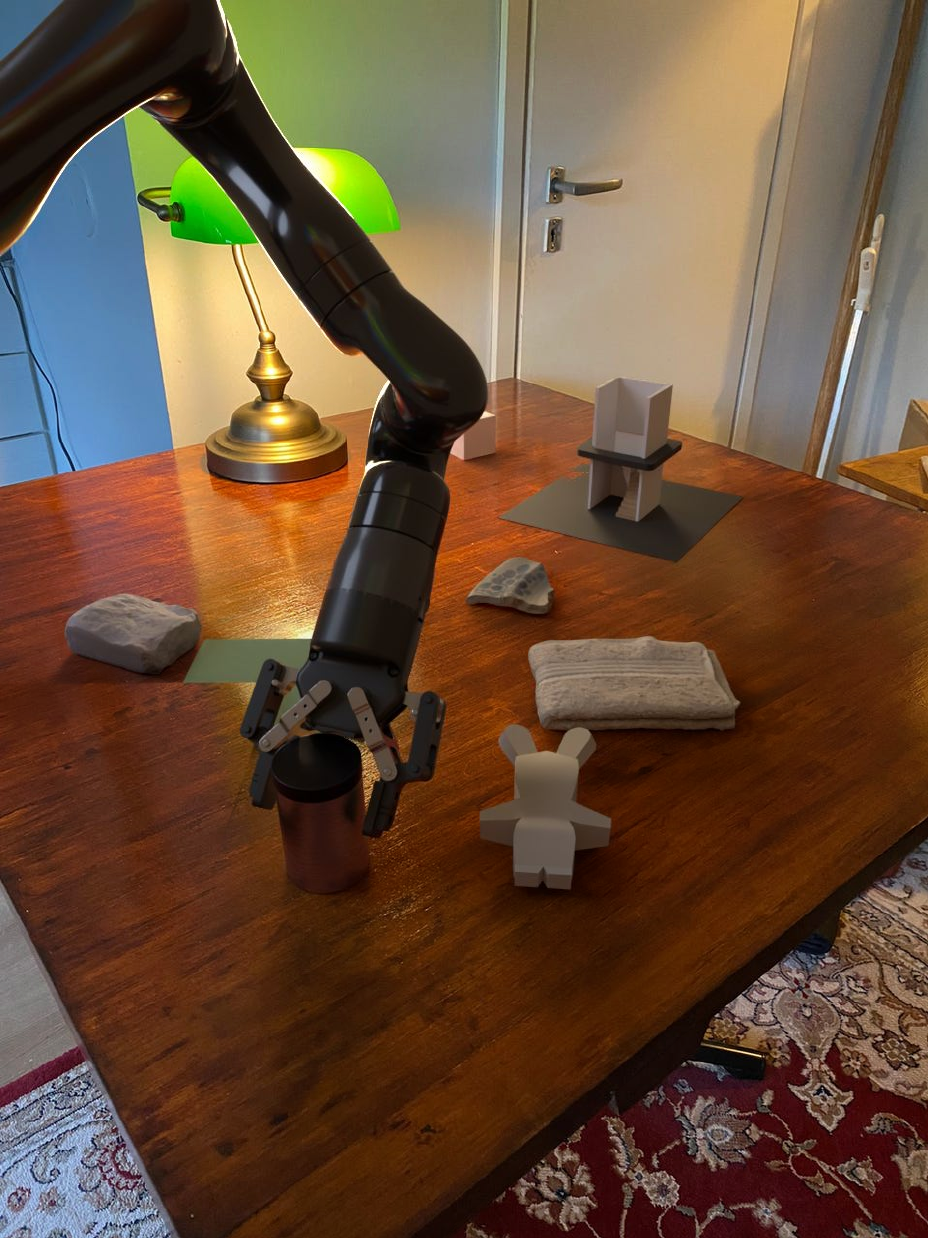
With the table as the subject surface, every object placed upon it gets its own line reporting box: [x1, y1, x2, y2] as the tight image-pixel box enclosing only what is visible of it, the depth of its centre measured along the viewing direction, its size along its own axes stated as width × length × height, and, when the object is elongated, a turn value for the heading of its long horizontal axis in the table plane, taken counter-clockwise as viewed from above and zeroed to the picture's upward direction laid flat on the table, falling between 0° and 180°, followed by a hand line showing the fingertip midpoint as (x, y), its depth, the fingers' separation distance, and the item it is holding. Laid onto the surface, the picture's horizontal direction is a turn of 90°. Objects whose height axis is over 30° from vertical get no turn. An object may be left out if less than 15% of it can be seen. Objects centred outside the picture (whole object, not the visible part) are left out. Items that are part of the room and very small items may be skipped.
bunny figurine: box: [479, 723, 612, 890], centre depth 68 cm, size 10×5×15 cm
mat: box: [182, 638, 344, 737], centre depth 86 cm, size 18×16×1 cm
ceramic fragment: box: [465, 556, 555, 615], centre depth 101 cm, size 11×3×10 cm
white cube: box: [450, 410, 497, 461], centre depth 142 cm, size 6×6×6 cm
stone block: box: [64, 593, 203, 676], centre depth 92 cm, size 12×5×10 cm
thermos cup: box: [271, 733, 371, 895], centre depth 64 cm, size 6×6×10 cm
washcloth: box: [527, 635, 741, 732], centre depth 83 cm, size 12×18×3 cm, turn 91°
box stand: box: [497, 375, 744, 563], centre depth 119 cm, size 25×24×16 cm
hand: (315, 822), depth 63 cm, fingers open, 8 cm apart
